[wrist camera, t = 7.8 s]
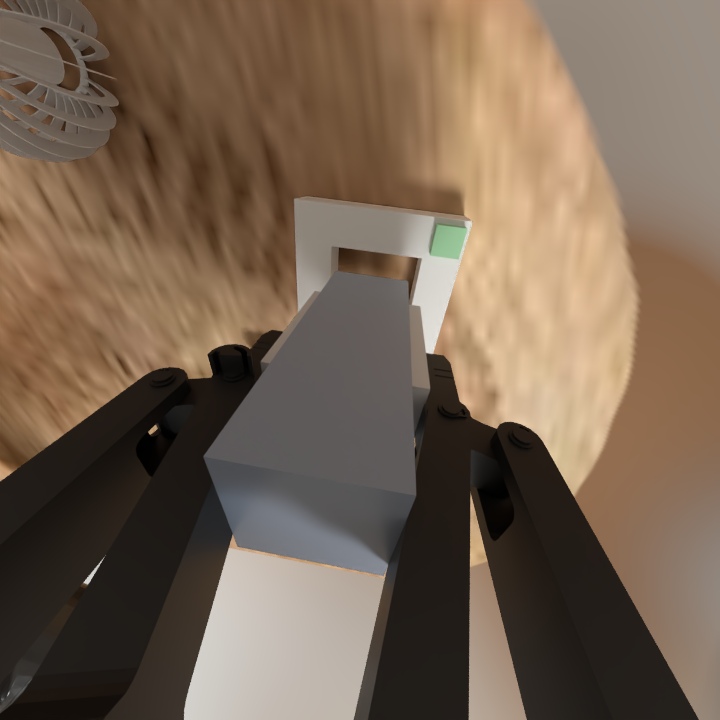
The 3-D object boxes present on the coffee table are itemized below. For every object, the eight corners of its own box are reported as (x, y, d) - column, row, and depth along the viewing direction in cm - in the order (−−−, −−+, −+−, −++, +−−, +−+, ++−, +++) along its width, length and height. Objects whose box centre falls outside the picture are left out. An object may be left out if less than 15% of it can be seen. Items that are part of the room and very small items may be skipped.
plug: (332, 334, 17) (237, 546, 7) (335, 270, 15) (203, 456, 5) (395, 343, 17) (383, 575, 7) (408, 281, 15) (416, 496, 5)
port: (308, 332, 23) (296, 352, 21) (306, 195, 17) (290, 199, 15) (426, 350, 23) (429, 372, 20) (464, 215, 17) (475, 223, 14)
